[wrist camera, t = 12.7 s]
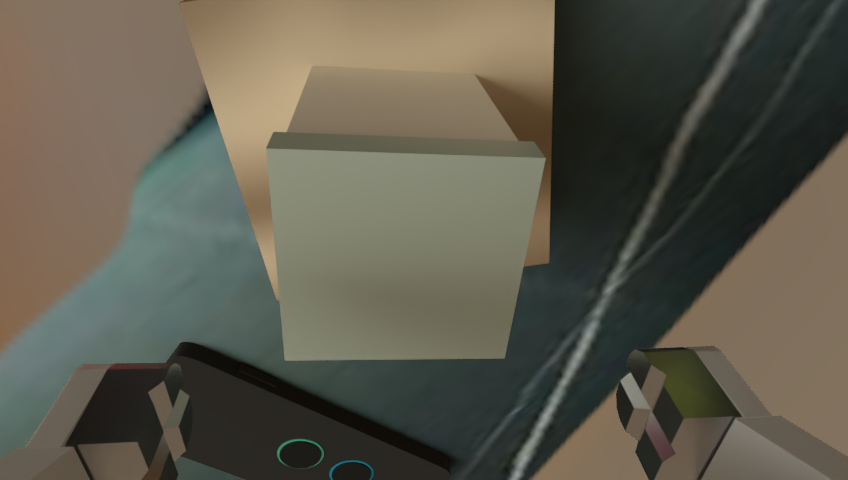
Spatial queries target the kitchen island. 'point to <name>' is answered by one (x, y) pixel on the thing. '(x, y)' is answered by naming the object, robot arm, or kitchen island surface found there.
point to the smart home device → (287, 429)
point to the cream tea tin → (399, 217)
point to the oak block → (369, 49)
